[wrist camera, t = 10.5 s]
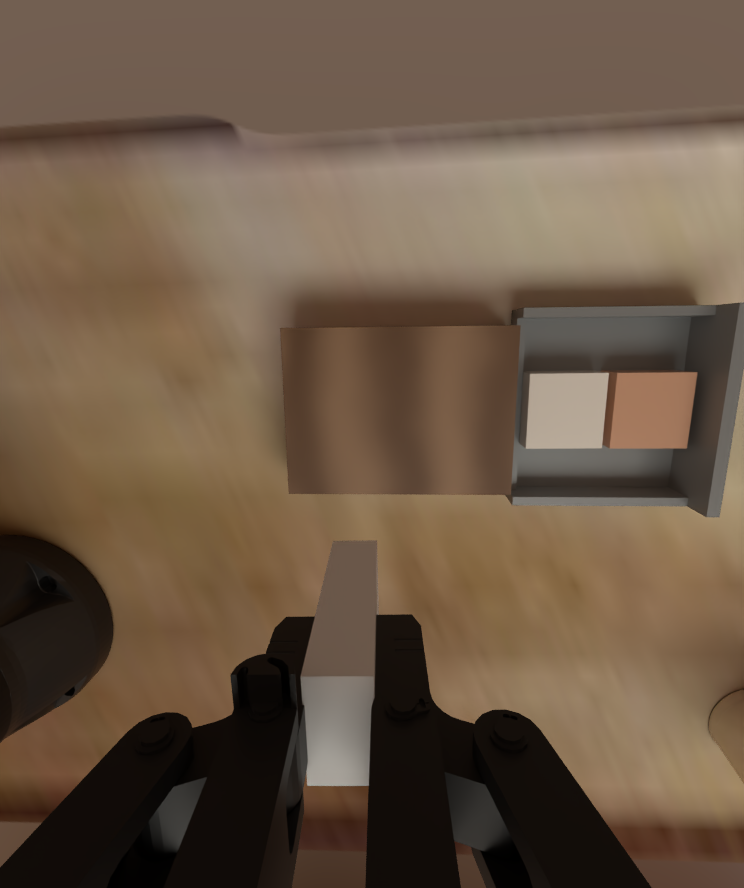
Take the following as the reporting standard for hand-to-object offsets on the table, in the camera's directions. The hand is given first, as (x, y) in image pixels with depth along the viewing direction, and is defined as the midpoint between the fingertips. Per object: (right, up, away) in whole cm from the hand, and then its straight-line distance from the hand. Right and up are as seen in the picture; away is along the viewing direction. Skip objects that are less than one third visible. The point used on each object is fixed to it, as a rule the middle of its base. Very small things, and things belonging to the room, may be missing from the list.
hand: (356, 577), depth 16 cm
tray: (+17, +7, +18) cm, 25 cm away
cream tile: (+13, +7, +17) cm, 23 cm away
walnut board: (+2, +7, +18) cm, 20 cm away
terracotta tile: (+19, +7, +14) cm, 25 cm away
